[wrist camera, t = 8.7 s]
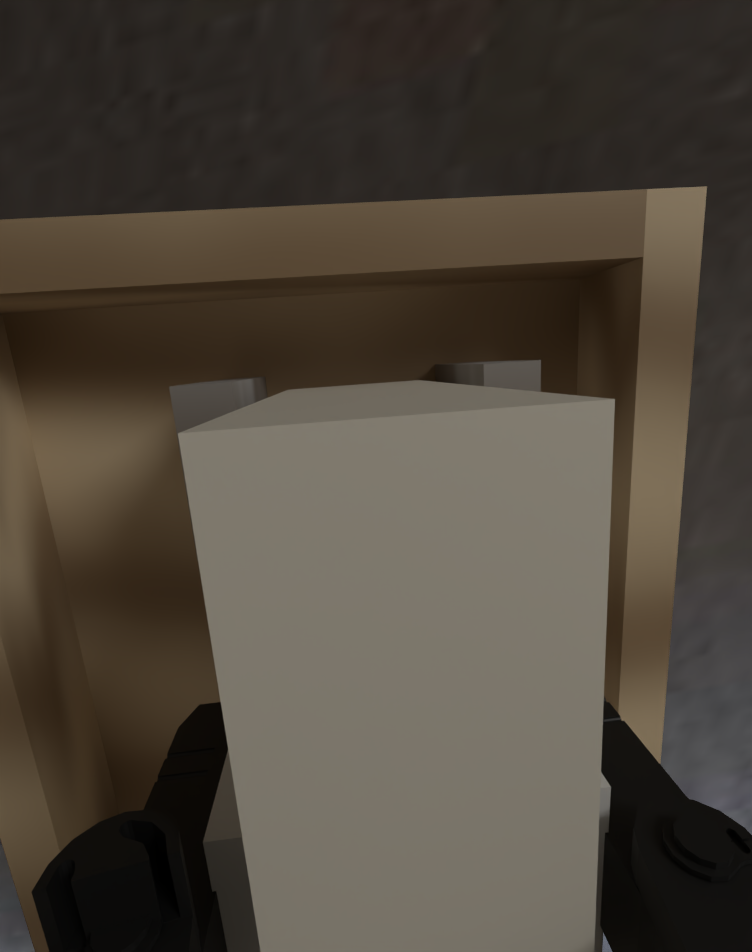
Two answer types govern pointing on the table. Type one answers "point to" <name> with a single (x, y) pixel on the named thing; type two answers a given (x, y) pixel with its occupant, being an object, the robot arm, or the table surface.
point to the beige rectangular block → (411, 659)
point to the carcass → (266, 374)
